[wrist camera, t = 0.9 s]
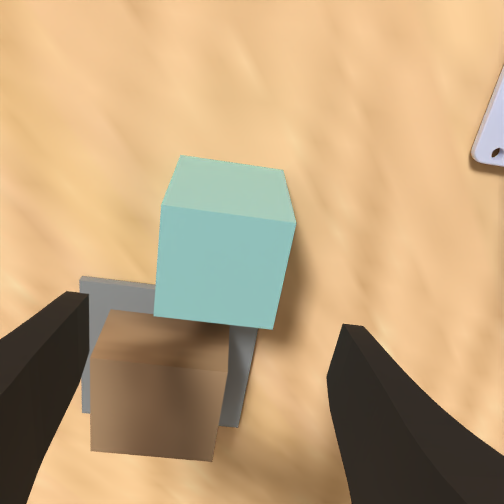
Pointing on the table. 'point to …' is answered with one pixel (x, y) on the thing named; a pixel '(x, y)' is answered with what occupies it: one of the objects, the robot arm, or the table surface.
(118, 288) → the mat
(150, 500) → the table surface
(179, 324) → the walnut block
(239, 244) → the teal block
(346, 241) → the table surface
